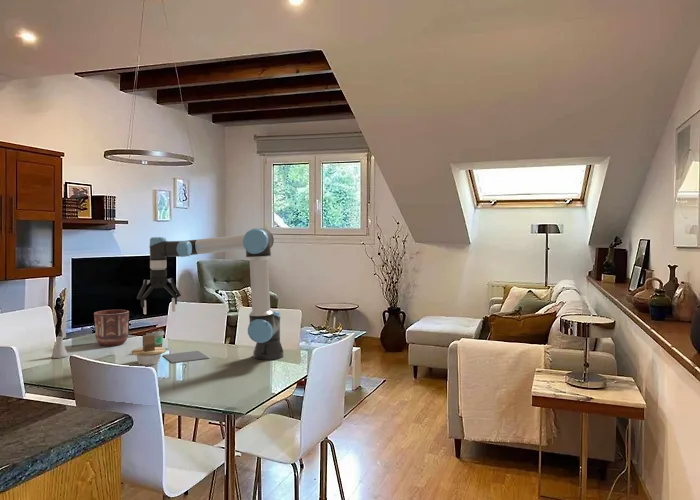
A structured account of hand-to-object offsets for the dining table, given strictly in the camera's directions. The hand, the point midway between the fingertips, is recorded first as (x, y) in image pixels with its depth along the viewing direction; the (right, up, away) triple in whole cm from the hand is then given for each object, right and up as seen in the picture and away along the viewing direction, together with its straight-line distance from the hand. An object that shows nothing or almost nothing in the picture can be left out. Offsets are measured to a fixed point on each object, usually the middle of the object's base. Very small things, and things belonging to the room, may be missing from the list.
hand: (159, 312), depth 263 cm
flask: (-52, -23, +7) cm, 58 cm away
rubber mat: (+10, -23, +8) cm, 27 cm away
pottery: (-40, -22, +38) cm, 59 cm away
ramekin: (-4, -24, -3) cm, 25 cm away
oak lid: (-4, -19, -4) cm, 19 cm away
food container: (-10, -23, +24) cm, 34 cm away
